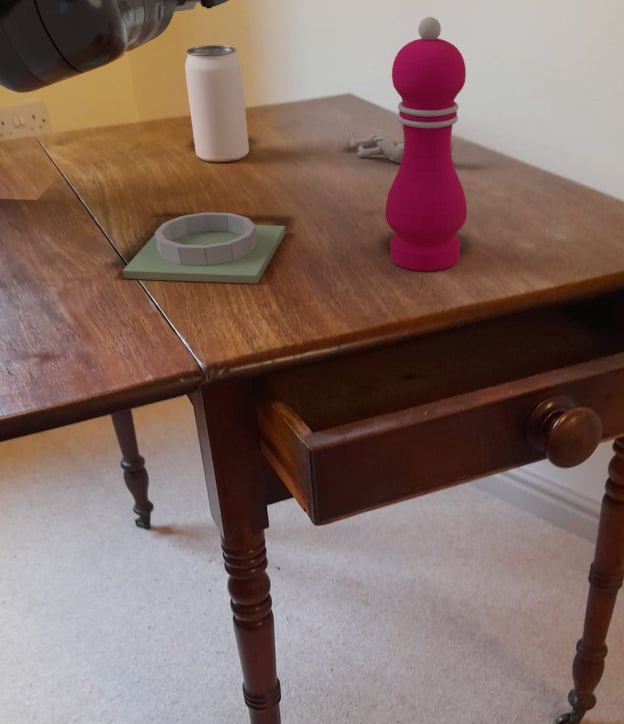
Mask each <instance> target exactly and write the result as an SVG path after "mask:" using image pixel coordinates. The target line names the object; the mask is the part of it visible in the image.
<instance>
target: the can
mask: <svg viewBox="0 0 624 724" xmlns="http://www.w3.org/2000/svg"><path fill="white" fill-rule="evenodd" d="M236 51H237V48H236V47H234V46H230V45H224V44H223V45H221V44H220V45H219V44H214V45H213V44H210V45H209V44H208V45H200V46H194V47H190V48H188V49H186V54H187V58H186V59H185V64H184V70H185V71H184V73H185V79H186V81H185V82H186V87H187V98H188V104H189V112H190V120H191V126H192V127H191V128H192V134H193V135H192V136H193V143H194V149H195V155H196V156H197V157H198V159H200V160H201V161H204V162H208V163H216V164H217V163H219V164H220V163H231V162H236V161H240V160H242V159H244V158H246V157H247V156H248V154H249V153H250V145H249V133H248V123H247V112H246V102H245V100H246V99H245V91H244V81H243V71H242V64H241V61H240V59H239V57H238V55H237V53H236Z"/></svg>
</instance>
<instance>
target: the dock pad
mask: <svg viewBox="0 0 624 724" xmlns="http://www.w3.org/2000/svg"><path fill="white" fill-rule="evenodd" d="M285 235H286V226H285V225H273V224H271V225H266V224H255V223H254V222H252V220H251V219H250V218H249V217H247V216H243V215H239V214H236V213H233V212H210V211H207V212H200V213H199V212H198V213H192V214H186V215H180V216H178V217H176V218H173V219H170V220H168V221H167V220H166V221H164V222H163V223H162V224H161V225H160V226H159V227H157V229H156V230H155V232H154V234H153V236H152V237H150V239H149V240H148V241H147V242H146V243H145V244H144V245H143V247H142V248H141V249H140V250H139V251H138V252H137V253H136V254H135V256H134V257H133V258H132V259H131V260H130V261H129V262H128V264H127V265H125V267H124V268H123V269H122V277H123V279H124V280H146V281H147V280H149V281H171V282H173V281H175V282H198V283H199V282H201V283H223V284H224V283H225V284H227V283H228V284H229V283H230V284H249V285H250V284H251V285H253V284H254V285H256V284H258V283H259V281H260V280H261V278H262V276H263V274H264V273H265V271H266V269H267V267H268V265H269V264H270V262H271V260H272V259H273V256H274V255H275V253H276V252H277V249H278V247H279V245H280V244H281V243H282V241H283V239H284V237H285Z"/></svg>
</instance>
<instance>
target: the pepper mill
mask: <svg viewBox="0 0 624 724" xmlns="http://www.w3.org/2000/svg"><path fill="white" fill-rule="evenodd" d="M441 32H442V27H441V23H440V22H439V20H438V19H437V18H435V17H432V16H427V17H425V18H423V19H422V20H420V22H419V25H418V35H419V37H420V38H418V39H414V40H411V41H409V42H408V43H406V44H405V45H403V46H402V47H401V49H400V50H398V52H397V54H396V55H395V56H394V57H395V58H394V60H393V63H392V67H391V80H392V86H393V88H394V89H395V91H396V93H397V94H398V95H399V96H400V97H401V101H400V102H399V103H398V105H397V110H398V114H399V116H398V119H397V121H398V122H399V123H402V124H403V129H402V131H403V141H404V152H403V157H402V161H401V163H400V165H399V168H398V170H397V173H396V175H395V177H394V180H393V182H392V184H391V186H390V188H389V191H388V194H387V197H386V201H385V211H384V212H385V213H384V216H385V220H386V222H387V225H388V227H390V229H391V230H392V231H393V232H394V233H395V235H393V236H392V237H391V239H390V259H391V261H392V262H393V264H395V265H397V266H398V267H400V268H403V269H405V270H409V271H415V272H416V271H417V272H434V271H436V272H437V271H442V270H446V269H448V268H451V267H453V266H455V265H456V264H457V263H458V261H459V260H460V254H461V253H460V252H461V240H460V238H459V237H458V236H457V235H456V234H457V233H458V232H459V231H460V230H461V229H462V227H463V226H464V225H465V223H466V220H467V217H468V211H467V209H468V208H467V199H466V196H465V195H466V194H465V191H464V188H463V186H462V183H461V181H460V178H459V176H458V173H457V171H456V168H455V165H454V160H453V155H452V153H451V135H452V131H453V125H454V124H456V123H457V122H458V120H459V116H458V112H457V111H458V110H459V103H458V102H456V101H455V100H456V98H457V96H458V95H459V93H460V92H461V91H462V90H463V88H464V86H465V83H466V77H467V71H466V64H465V59H464V56H463V54H462V53H461V51H460V50H459V48H458V47H457V46H455V45H454V44H453V43H451V42H450V41H448V40H445V39H441V38H439V37H440V35H441Z"/></svg>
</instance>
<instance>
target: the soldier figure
mask: <svg viewBox="0 0 624 724" xmlns="http://www.w3.org/2000/svg"><path fill="white" fill-rule="evenodd" d="M392 116H393V117H395V118H396V120H398V116H399V112H394V113H393V114H392ZM399 123H400V122H399ZM399 127H400V128H401V129H402V130H403V124H402V123H400V124H399ZM349 140H350V143H349V147H350V148H351V149H355V148H357V149H358V152H357V156H358V158H359V159H360V158H363V157H366V156H382V155H384V156H386V157H387V158H388V159H389V160H390V161H392V162H395V163H397V164H401V161H402V157H403V152H404V140H401V141H398V142H397V145H396V144H394V142H393V141H392V140H391V139H389V138H387V137H386V136H384V134H380V133H375V132H374V133H373V134H372V135H369V136H366V137H361V138H356V136H355V132H353V131H350V133H349ZM454 144H455V143H454V138H453V135H452V134H451V154H453V151H454V147H455V145H454ZM373 145H374V146H376V147H373V148H364V147H367V146H373Z"/></svg>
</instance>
